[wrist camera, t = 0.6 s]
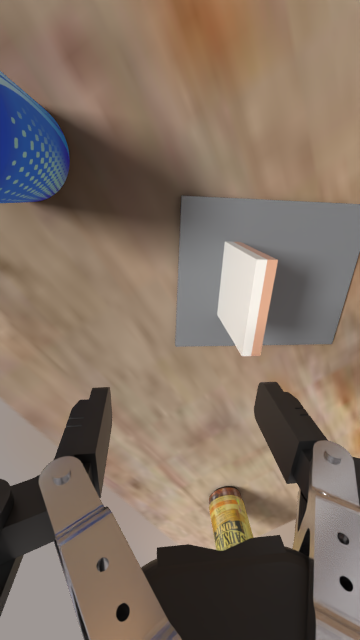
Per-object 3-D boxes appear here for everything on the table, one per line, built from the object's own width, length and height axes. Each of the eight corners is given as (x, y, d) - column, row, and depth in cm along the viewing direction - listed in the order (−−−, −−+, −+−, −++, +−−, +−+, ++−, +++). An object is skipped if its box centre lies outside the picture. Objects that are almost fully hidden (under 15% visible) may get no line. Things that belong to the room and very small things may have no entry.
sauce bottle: (230, 479, 49) (279, 644, 31) (246, 496, 51) (299, 658, 33) (199, 495, 50) (229, 665, 32) (216, 512, 52) (252, 677, 34)
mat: (181, 195, 29) (182, 195, 29) (369, 204, 32) (373, 205, 31) (175, 344, 37) (175, 346, 36) (329, 341, 39) (331, 343, 39)
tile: (224, 241, 31) (256, 259, 22) (240, 241, 31) (278, 259, 22) (217, 314, 35) (241, 356, 26) (231, 314, 35) (260, 355, 26)
